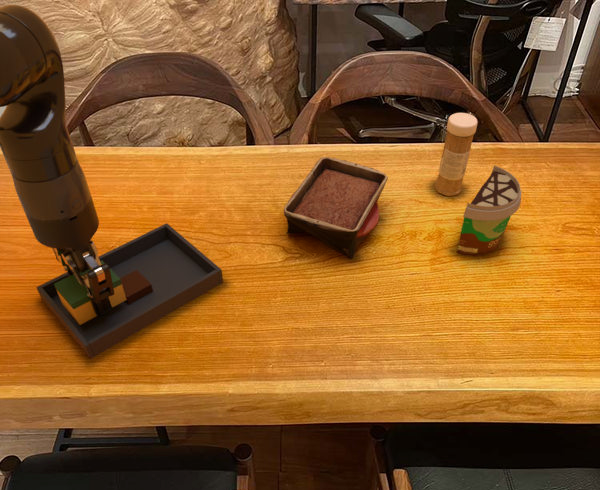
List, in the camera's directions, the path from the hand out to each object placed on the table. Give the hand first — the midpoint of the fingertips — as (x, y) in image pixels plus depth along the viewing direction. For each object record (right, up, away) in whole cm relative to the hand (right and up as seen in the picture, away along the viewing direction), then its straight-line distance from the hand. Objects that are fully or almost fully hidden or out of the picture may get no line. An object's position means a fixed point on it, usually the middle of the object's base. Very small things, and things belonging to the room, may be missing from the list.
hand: (93, 300), depth 79 cm
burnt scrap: (+4, +1, +4) cm, 6 cm away
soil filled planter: (+33, +12, +16) cm, 39 cm away
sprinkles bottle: (+54, +19, +23) cm, 61 cm away
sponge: (0, 0, 0) cm, 0 cm away
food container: (+57, +9, +13) cm, 59 cm away
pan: (+4, +1, +5) cm, 6 cm away
